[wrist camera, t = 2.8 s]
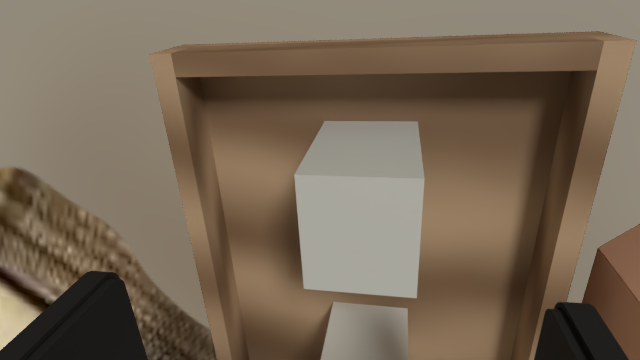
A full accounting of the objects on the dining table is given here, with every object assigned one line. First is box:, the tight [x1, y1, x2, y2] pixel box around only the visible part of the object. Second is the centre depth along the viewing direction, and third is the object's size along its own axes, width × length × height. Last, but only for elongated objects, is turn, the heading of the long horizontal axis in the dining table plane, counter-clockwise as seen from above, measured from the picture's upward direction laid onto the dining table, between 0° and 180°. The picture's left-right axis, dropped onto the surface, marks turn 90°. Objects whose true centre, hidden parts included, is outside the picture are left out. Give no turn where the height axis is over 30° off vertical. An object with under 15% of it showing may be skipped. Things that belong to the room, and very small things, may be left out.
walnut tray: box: [150, 31, 636, 360], centre depth 18 cm, size 19×15×2 cm
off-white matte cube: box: [294, 121, 425, 298], centre depth 14 cm, size 4×4×5 cm
